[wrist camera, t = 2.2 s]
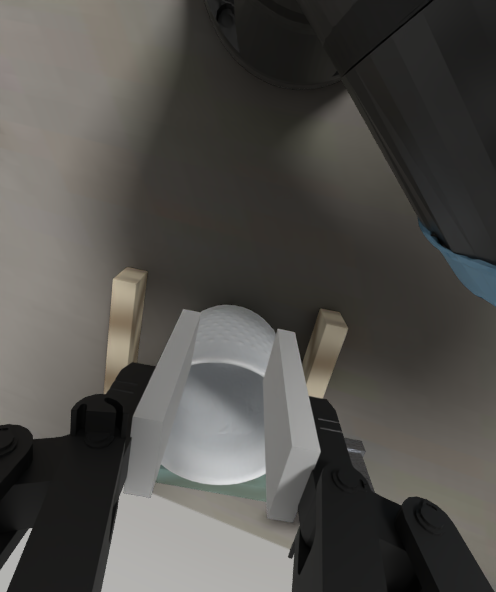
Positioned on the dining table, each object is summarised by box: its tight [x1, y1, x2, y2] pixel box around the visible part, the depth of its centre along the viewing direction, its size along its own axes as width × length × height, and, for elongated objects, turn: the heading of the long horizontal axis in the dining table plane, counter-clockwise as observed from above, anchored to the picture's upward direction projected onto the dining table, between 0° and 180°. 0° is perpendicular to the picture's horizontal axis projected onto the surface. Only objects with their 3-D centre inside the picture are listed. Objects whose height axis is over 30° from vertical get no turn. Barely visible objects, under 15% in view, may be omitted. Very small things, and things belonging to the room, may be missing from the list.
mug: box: [157, 304, 276, 485], centre depth 31 cm, size 15×11×13 cm
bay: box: [104, 267, 348, 502], centre depth 36 cm, size 21×21×5 cm
